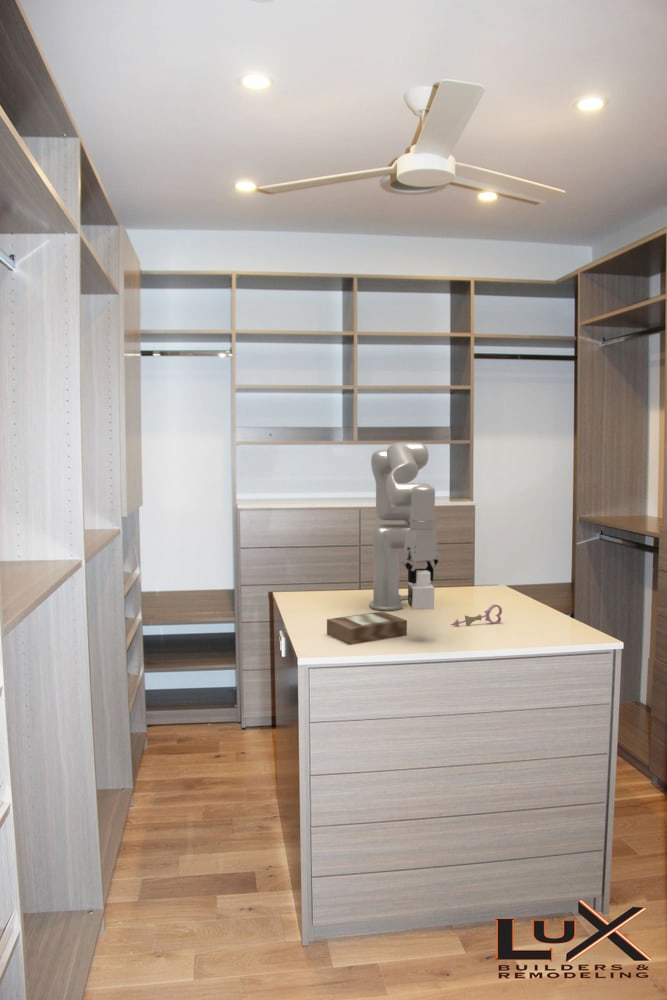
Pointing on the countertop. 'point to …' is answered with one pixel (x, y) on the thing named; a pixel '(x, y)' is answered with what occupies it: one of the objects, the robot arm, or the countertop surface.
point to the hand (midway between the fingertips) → (420, 581)
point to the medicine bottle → (421, 591)
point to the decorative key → (472, 619)
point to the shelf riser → (366, 627)
